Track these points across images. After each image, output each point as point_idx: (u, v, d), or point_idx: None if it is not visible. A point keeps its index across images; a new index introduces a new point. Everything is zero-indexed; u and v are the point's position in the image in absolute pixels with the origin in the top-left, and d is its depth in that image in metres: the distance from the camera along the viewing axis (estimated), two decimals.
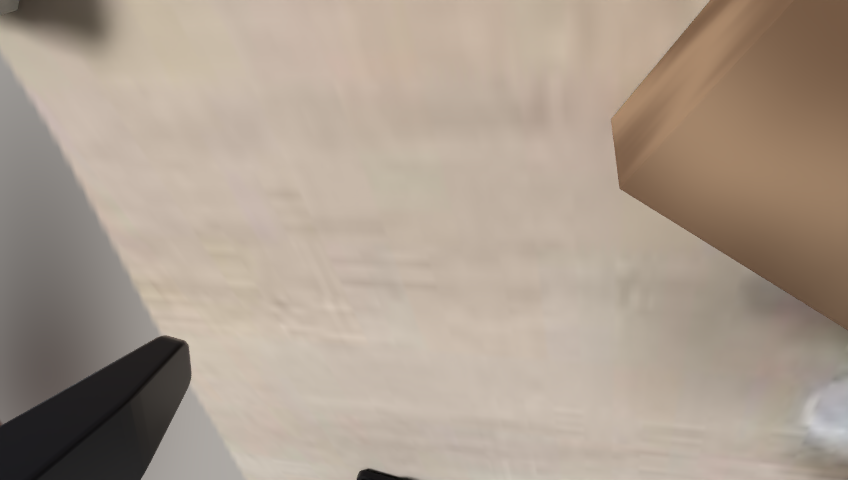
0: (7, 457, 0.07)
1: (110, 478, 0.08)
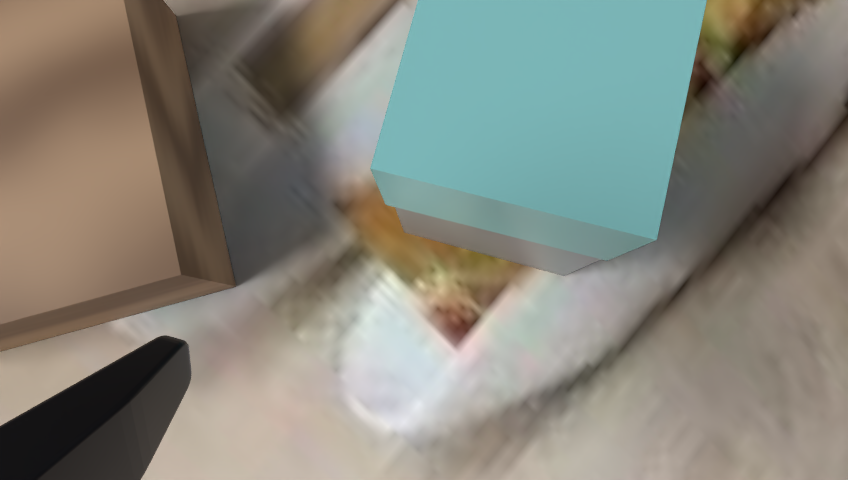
0: (7, 457, 0.07)
1: (110, 478, 0.08)
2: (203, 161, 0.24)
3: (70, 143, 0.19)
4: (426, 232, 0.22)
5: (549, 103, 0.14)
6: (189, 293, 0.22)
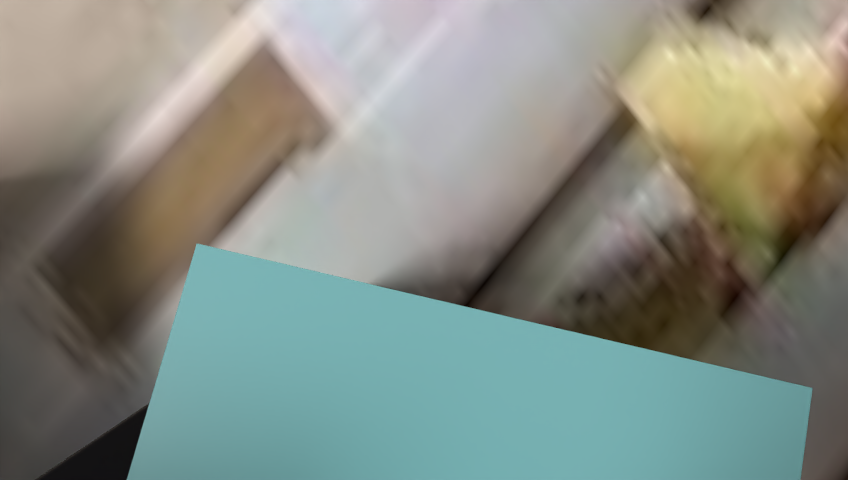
0: None
1: None
2: None
3: None
4: None
5: None
6: None
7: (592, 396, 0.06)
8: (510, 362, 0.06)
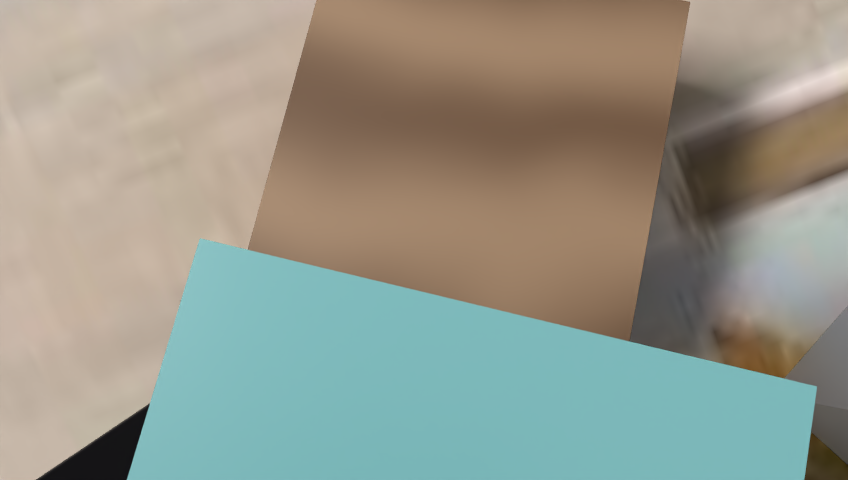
0: None
1: None
2: None
3: (570, 184, 0.18)
4: (815, 418, 0.21)
5: None
6: None
7: (594, 393, 0.06)
8: (513, 359, 0.06)
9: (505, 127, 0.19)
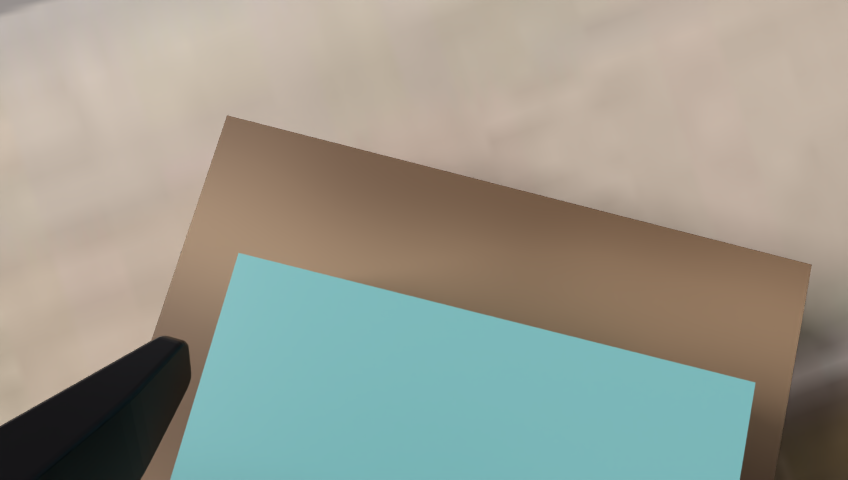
0: (7, 457, 0.07)
1: (110, 478, 0.08)
2: None
3: None
4: None
5: None
6: None
7: (570, 386, 0.07)
8: (502, 357, 0.07)
9: None
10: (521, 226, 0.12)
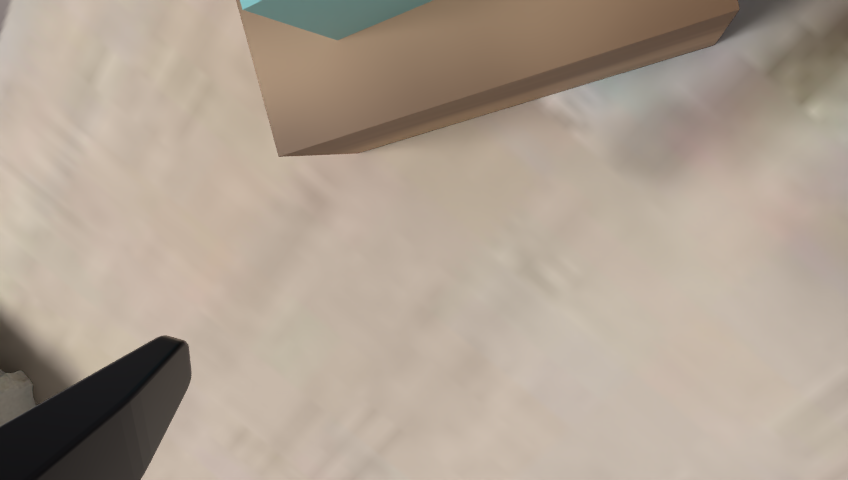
0: (7, 457, 0.07)
1: (110, 478, 0.08)
2: None
3: None
4: None
5: None
6: (668, 53, 0.16)
7: None
8: None
9: None
10: None
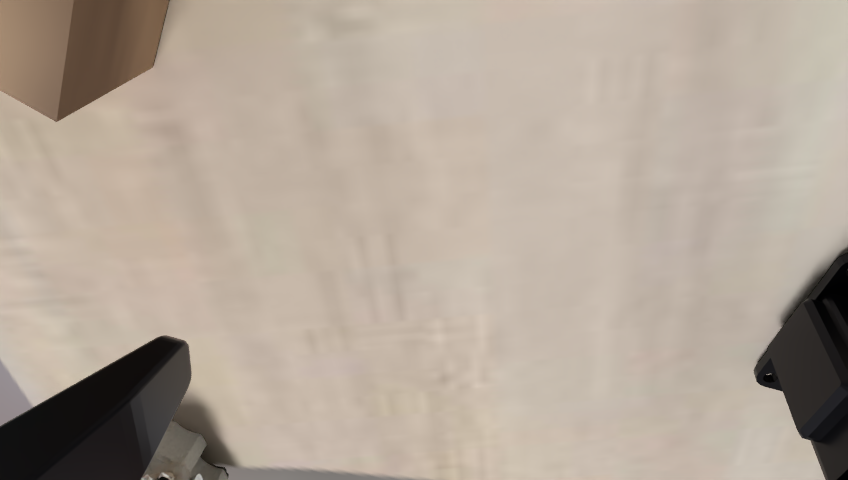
0: (7, 457, 0.07)
1: (110, 478, 0.08)
2: None
3: None
4: None
5: None
6: None
7: None
8: None
9: None
10: None
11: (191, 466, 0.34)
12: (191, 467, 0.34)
